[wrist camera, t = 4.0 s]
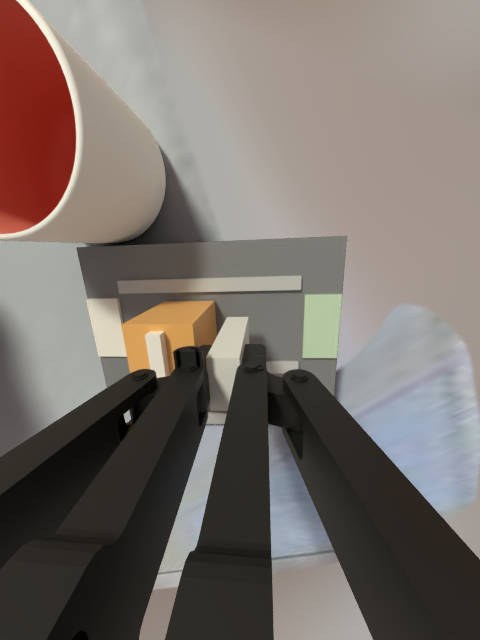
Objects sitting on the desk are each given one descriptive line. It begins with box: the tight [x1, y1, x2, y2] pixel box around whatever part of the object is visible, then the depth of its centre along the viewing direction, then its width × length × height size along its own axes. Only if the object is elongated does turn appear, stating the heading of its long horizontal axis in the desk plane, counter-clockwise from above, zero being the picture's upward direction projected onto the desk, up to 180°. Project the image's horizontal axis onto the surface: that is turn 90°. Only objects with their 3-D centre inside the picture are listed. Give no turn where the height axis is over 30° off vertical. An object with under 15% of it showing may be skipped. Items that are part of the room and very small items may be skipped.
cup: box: [0, 0, 166, 244], centre depth 15 cm, size 10×10×10 cm
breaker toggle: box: [121, 301, 217, 378], centre depth 16 cm, size 4×4×7 cm
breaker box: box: [77, 236, 347, 396], centre depth 21 cm, size 20×13×3 cm, turn 92°
